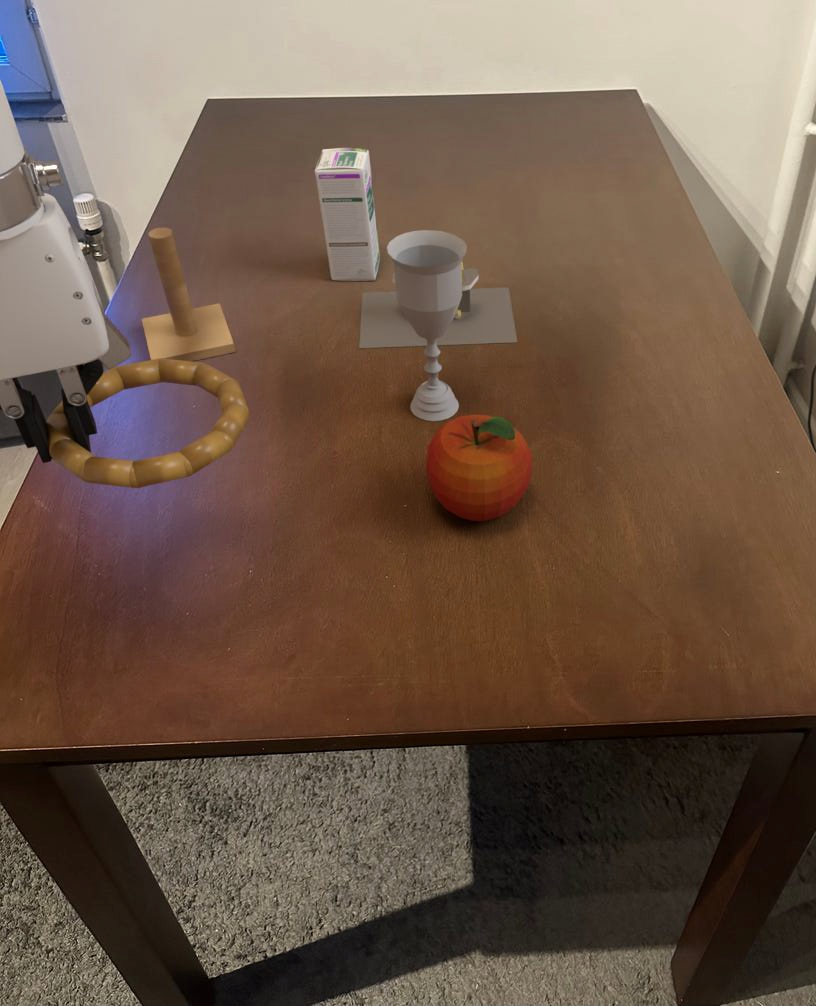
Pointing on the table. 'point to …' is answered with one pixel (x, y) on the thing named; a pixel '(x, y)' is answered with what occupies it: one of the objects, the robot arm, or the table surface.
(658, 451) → the table surface
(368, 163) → the syrup box
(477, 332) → the platform
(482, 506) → the fruit
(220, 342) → the post
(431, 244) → the chalice
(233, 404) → the ring
